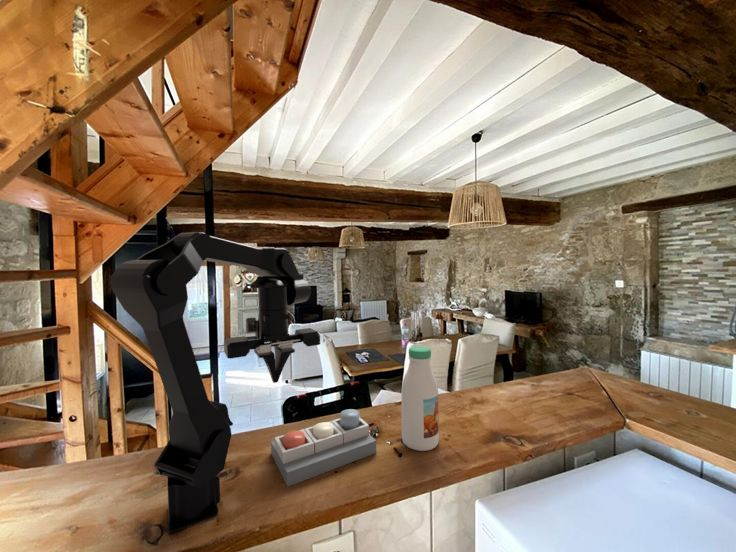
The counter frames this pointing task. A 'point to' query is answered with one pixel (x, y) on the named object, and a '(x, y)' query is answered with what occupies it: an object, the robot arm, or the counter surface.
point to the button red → (293, 439)
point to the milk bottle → (420, 402)
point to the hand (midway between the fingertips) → (275, 382)
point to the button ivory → (322, 430)
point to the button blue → (349, 419)
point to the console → (322, 452)
